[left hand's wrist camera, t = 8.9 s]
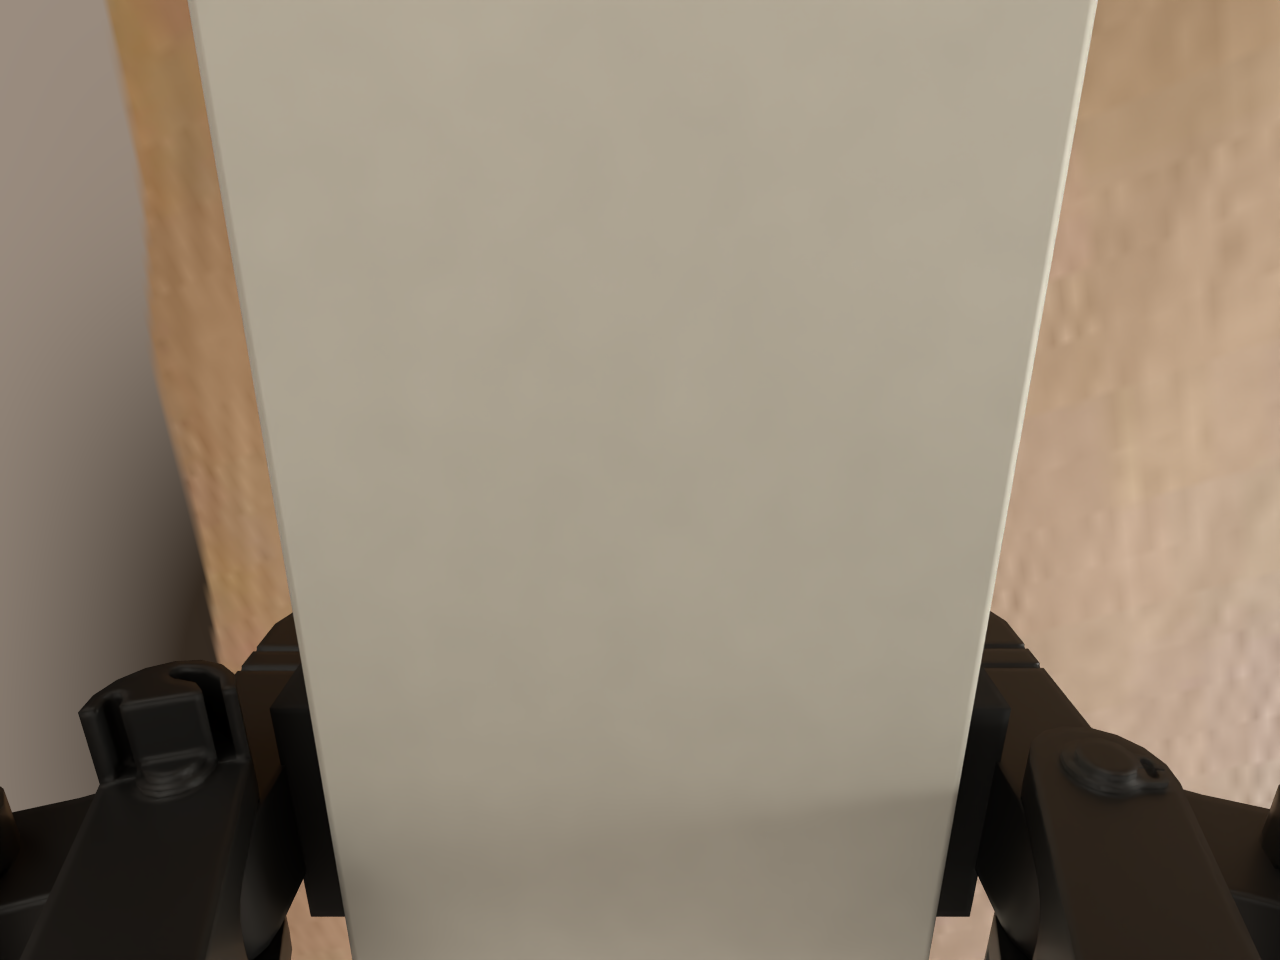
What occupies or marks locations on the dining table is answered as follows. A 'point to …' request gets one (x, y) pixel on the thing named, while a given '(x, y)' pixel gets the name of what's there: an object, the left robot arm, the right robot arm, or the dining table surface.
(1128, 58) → the dining table surface
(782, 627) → the bar
